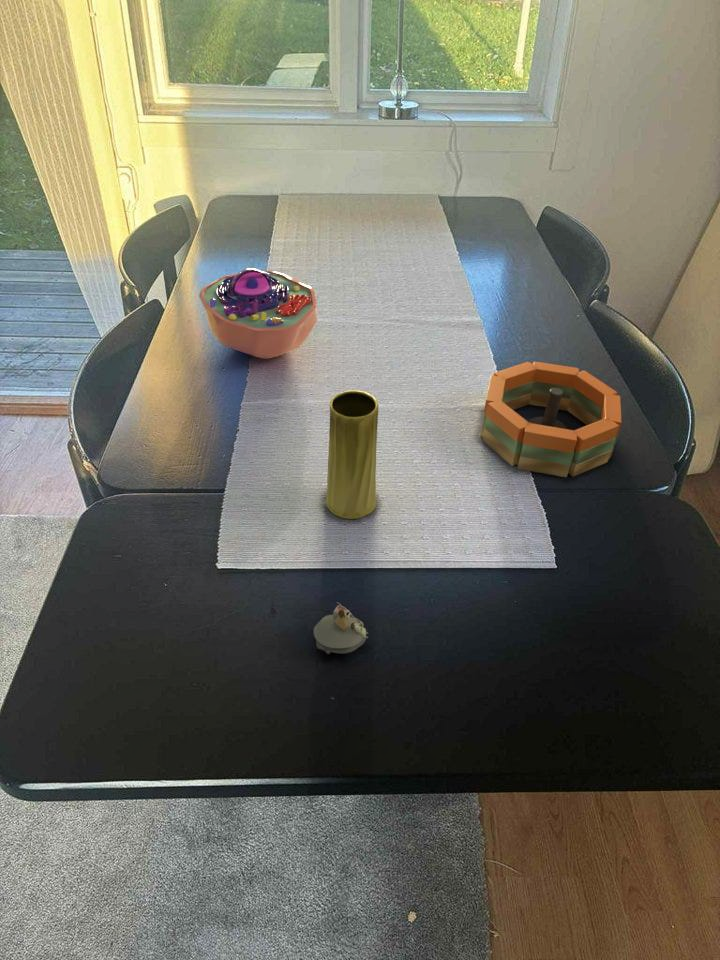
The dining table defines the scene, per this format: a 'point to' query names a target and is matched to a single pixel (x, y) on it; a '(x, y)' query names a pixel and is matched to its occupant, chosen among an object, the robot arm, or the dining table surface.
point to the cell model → (260, 312)
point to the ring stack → (552, 400)
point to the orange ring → (547, 434)
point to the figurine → (339, 632)
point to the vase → (352, 455)
